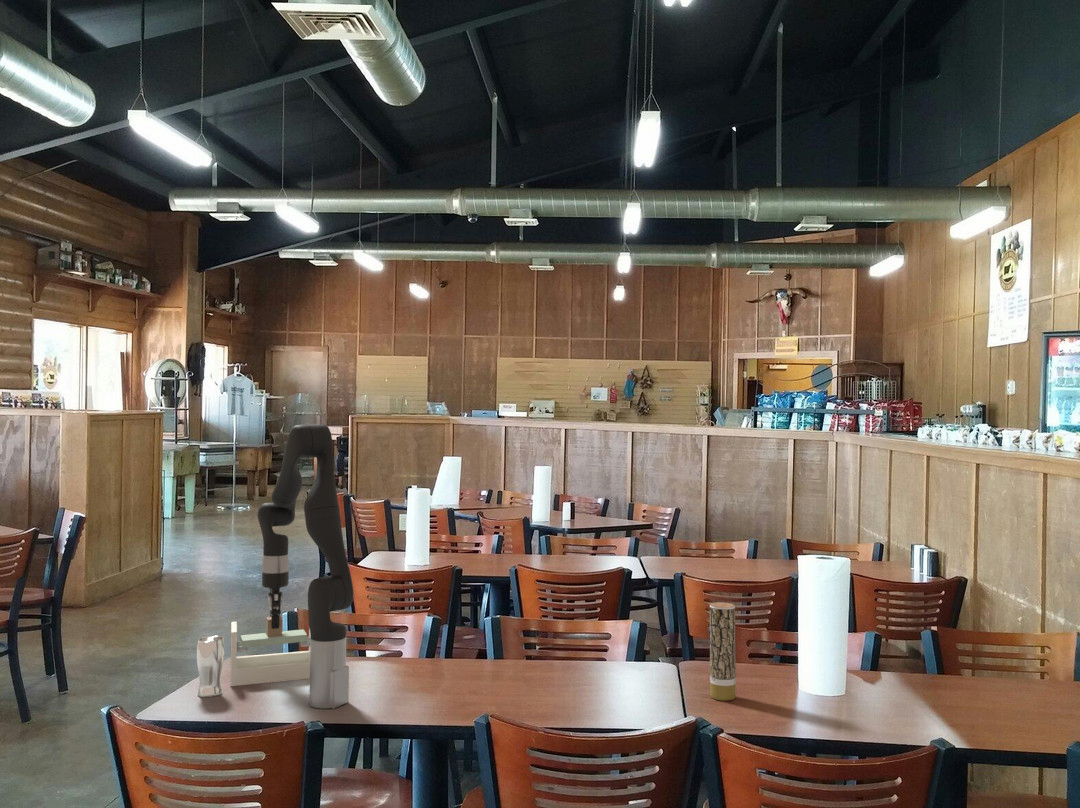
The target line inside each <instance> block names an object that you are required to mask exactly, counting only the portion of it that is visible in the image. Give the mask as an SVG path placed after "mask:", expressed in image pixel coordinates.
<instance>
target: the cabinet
mask: <svg viewBox="0 0 1080 808" xmlns="http://www.w3.org/2000/svg"><path fill="white" fill-rule="evenodd" d="M237 623H238V622H237V621H231V624H230V626H231V628H230V681H229V682H230V685H229V686H230V687H235V686H236V687H237V686H248V685H258V684H266V683H277V682H278V683H280V682H286V681H287V682H289V681H298V680H310V639H311V634H310V629H309V628H308V636H307V641H306V642H299V643H300V647H301V648H302V647H303V648H304V647H308V650H304V651H303V650H302V651H301V650H300V651H292V652H290V651H289V652H280V653H279V652H278V653H269V654H267V653H266V654H258V655H257V654H256V655H243V656H237V653H242V652H243V653H244V652H248V649H249V647H246V648H243V647H242V645H241V642H238V641H237V639H238V624H237Z"/></svg>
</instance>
